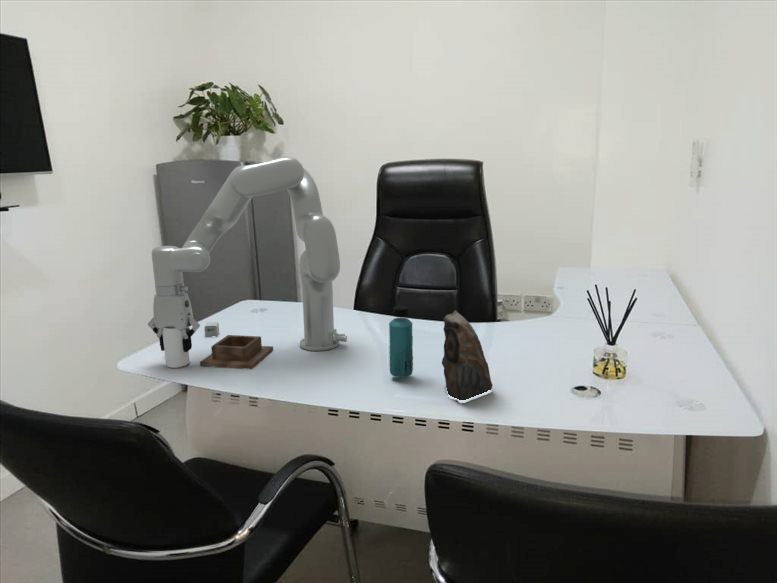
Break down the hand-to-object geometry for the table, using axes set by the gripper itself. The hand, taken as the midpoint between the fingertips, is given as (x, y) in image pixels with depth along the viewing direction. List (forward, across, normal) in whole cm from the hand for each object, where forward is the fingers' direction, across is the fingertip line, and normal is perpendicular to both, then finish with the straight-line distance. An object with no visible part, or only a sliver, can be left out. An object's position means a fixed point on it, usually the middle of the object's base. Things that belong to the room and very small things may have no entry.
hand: (176, 349), depth 158 cm
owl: (+5, -84, +7) cm, 84 cm away
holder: (+5, -15, -8) cm, 18 cm away
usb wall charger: (+5, +4, -29) cm, 29 cm away
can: (+5, 0, 0) cm, 5 cm away
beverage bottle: (+5, -66, 0) cm, 66 cm away
